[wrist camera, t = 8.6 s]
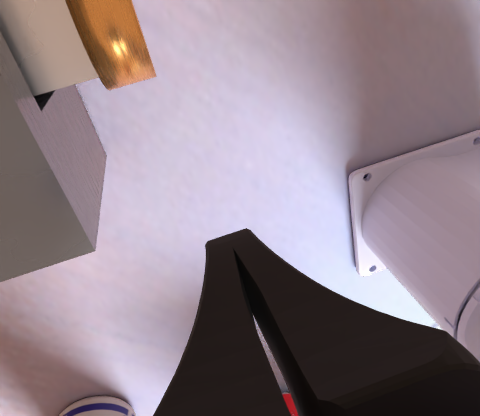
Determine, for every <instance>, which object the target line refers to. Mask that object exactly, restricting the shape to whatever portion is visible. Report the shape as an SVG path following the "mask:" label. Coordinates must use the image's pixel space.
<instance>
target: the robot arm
mask: <svg viewBox="0 0 480 416" xmlns="http://www.w3.org/2000/svg"><path fill="white" fill-rule="evenodd" d="M475 138H476V140H475ZM474 140H475V141H474ZM367 173H368V176H367V177H366V178H365V179H363V177H364V175H365V174H367ZM348 181H349V193H350V204H351V215H352V227H353V238H354V249H355V260H356V271H357V273H358V274H359V275H360V276H362V277H364V276H368V275H371V274H374V273H377V272H379V271H382V270H385V269H388V270H389V271H390V272H391V273H392V274H393V275H394V276H395V278H396V279H397V280H398V281H399V282H400V283H401V284H402V285H403V286H404V287H405V289H406V290H407V291H408V292H409V293H410V294H411V295H412V296H413V297H414V299H415V300H416V301H417V302H418V303H419V304H420V305H421V306H422V307H423V309H424V310H425V311H426V312H427V313H428V314H429V315H430V316H431V317H432V318H433V320H434V321H435V322H436V323H437V324H438V325H439V326H440V327H441V328H442V330H440V329H436V328H432V327H429V326H425V325H421V324H417V323H413V322H410V321H406V320H403V319H399V318H396V317H394V316H391V315H388V314H385V313H382V312H379V311H376V310H374V309H371V308H369V307H367V306H364V305H362V304H359V303H357V302H354V301H352V300H350V299H348V298H346V297H344V296H342V295H340V294H337V293H335V292H333V291H332V290H330V289H328V288H326V287H324V286H322V285H321V284H319V283H317V282H316V281H314V280H312V279H311V278H309V277H307V276H306V275H304V274H303V273H301V272H300V271H298V270H297V269H295V268H294V267H293V266H291V265H290V264H288V263H287V262H286V261H284V260H283V259H282V258H281V257H279V256H278V255H277V254H275V253H274V252H273V251H272V250H271V249H269V248H268V247H267V246H266V245H265V244H264V243H263V242H262V241H260V240H259V239H258V238H257V237H256V236H255V235H254V234H253V232H252V231H251V230H249V229H247V228H246V229H243V230H240V231H237V232H234V233H231V234H228V235H225V236H222V237H219V238H216V239H213V240H210V241H208V242H207V243H206V245H205V248H206V264H205V274H204V281H203V288H202V293H201V298H200V302H199V306H198V310H197V315H196V318H195V322H194V325H193V328H192V331H191V334H190V337H189V340H188V343H187V346H186V348H185V351H184V353H183V356H182V358H181V361H180V363H179V365H178V368H177V370H176V372H175V374H174V376H173V378H172V380H171V382H170V384H169V386H168V388H167V390H166V392H165V394H164V396H163V398H162V400H161V402H160V404H159V406H158V408H157V409H156V411H155V413H154V415H153V416H291V414H290V411H289V409H288V407H287V404H286V402H285V400H284V397H283V395H282V392H281V390H280V388H279V385H278V383H277V380H276V378H275V376H274V373H273V371H272V368H271V366H270V363H269V361H268V358H267V356H266V353H265V351H264V348H263V346H262V343H261V341H260V338H259V336H258V333H257V330H256V326H255V322H254V318H253V315H254V317H255V320H256V322H257V324H258V326H259V328H260V330H261V332H262V334H263V336H264V338H265V340H266V342H267V344H268V346H269V348H270V350H271V352H272V354H273V356H274V358H275V361H276V363H277V365H278V367H279V369H280V371H281V373H282V375H283V377H284V380H285V382H286V384H287V386H288V389H289V392H290V394H291V397H292V400H293V402H294V405H295V407H296V410H297V413H298V415H299V416H480V130H477V131H473V132H470V133H467V134H464V135H461V136H458V137H455V138H452V139H449V140H446V141H443V142H440V143H437V144H434V145H431V146H428V147H425V148H422V149H419V150H416V151H412V152H409V153H406V154H403V155H400V156H397V157H394V158H391V159H388V160H385V161H382V162H379V163H376V164H373V165H370V166H367V167H364V168H361V169H358V170H355V171H353V172H352V173H351V174H350V176H349V179H348ZM371 266H372V267H371ZM370 267H371V268H370ZM252 313H253V314H252Z"/></svg>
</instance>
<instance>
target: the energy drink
mask: <svg viewBox="0 0 480 416" xmlns="http://www.w3.org/2000/svg"><path fill="white" fill-rule="evenodd" d="M59 416H136V414H135V412H134V410H133V408H132V407H131V406H130V405H129V404H127V403H126V402H125V401H123V400H121V399H119V398H116V397H111V396H93V397H88V398H85V399H81V400H79V401H77V402H75V403H73V404H71V405H70V406H68V407H67V408H66V409H65V410H64V411H63V412H62V413H60V415H59Z"/></svg>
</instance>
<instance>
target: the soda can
mask: <svg viewBox="0 0 480 416" xmlns="http://www.w3.org/2000/svg"><path fill="white" fill-rule="evenodd" d="M282 395H283V397H284V400H285V402H286V404H287V407H288V409H289V411H290V414H291V416H299V415H298V413H297V410H296V407H295V405H294V402H293V400H292V397H291V394H290V393H288V392H283V393H282Z"/></svg>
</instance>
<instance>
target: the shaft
mask: <svg viewBox="0 0 480 416" xmlns="http://www.w3.org/2000/svg"><path fill="white" fill-rule="evenodd" d="M0 32H1V33H2V35H3V37H4V39H5V41H6V43H7V45H8V47H9V49H10V51H11V53H12V55H13V57H14V59H15V61H16V63H17V65H18V67H19V69H20V71H21V73H22V75H23V77H24V79H25V81H26V83H27V85H28V87H29V89H30V91H31V93H32V95H33V96H36V95H39V94H43V93H46V92H50V91H53V90H57V89H60V88H64V87H67V86H71V85H74V84H78V83H81V82H85V81H88V80H92V79H95V78H98V77H99V78H100V80H101V81H102V83H103V84H104V86H105V87H106V88H107V89H108V90H112V89H116V88H119V87H122V86H126V85H129V84H133V83H136V82H140V81H143V80H147V79H150V78H153V77H156V73H155V70H154V67H153V64H152V61H151V58H150V55H149V52H148V48H147V45H146V42H145V39H144V36H143V33H142V30H141V27H140V24H139V21H138V18H137V15H136V12H135V9H134V6H133V3H132V0H0Z"/></svg>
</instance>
